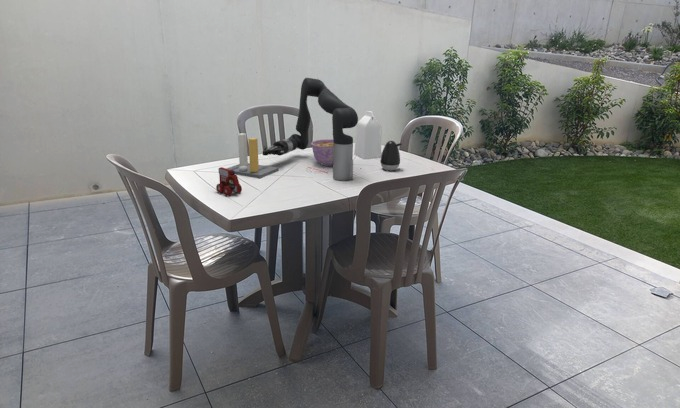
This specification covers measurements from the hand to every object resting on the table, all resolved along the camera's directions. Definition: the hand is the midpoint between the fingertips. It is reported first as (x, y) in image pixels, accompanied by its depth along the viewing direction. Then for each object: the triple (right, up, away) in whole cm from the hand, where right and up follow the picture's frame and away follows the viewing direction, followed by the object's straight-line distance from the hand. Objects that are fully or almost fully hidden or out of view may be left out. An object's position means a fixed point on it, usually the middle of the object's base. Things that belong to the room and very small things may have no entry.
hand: (263, 153), depth 217 cm
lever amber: (-4, -9, -5) cm, 11 cm away
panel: (-6, -9, +1) cm, 11 cm away
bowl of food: (+32, -4, +18) cm, 37 cm away
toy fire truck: (-9, -21, -31) cm, 38 cm away
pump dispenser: (+64, -7, +10) cm, 65 cm away
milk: (+54, +3, +38) cm, 66 cm away
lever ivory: (-11, -5, +6) cm, 14 cm away
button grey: (-10, -9, -3) cm, 13 cm away
